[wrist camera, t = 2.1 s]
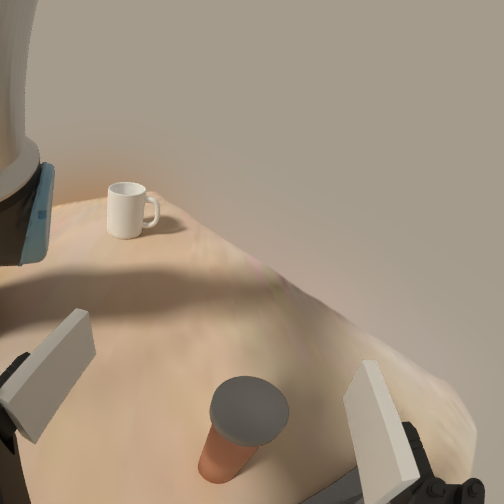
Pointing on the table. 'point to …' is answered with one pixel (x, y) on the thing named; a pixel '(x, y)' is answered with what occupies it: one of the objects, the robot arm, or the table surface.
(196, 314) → the table surface
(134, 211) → the cup
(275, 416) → the pin
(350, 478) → the hitch plate
